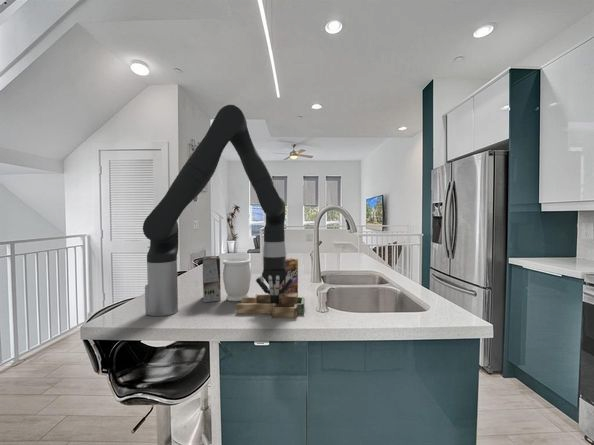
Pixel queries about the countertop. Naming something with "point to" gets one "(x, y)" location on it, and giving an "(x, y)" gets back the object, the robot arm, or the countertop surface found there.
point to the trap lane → (270, 306)
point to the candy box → (291, 276)
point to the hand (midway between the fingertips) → (274, 305)
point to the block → (289, 299)
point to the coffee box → (211, 279)
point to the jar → (236, 278)
